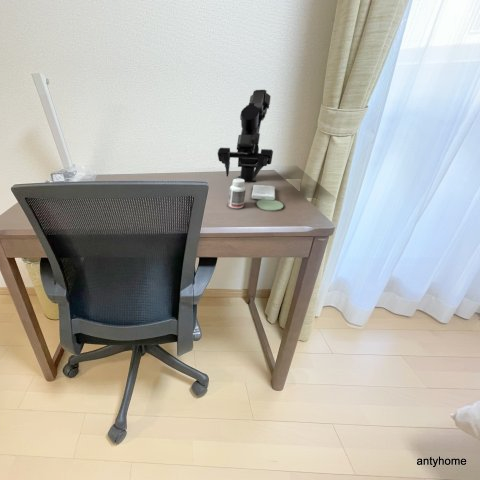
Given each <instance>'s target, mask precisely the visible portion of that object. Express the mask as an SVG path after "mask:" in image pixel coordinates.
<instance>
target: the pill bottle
mask: <svg viewBox="0 0 480 480" xmlns="http://www.w3.org/2000/svg"><path fill="white" fill-rule="evenodd" d="M245 183H246V182H245V180H244V179H239V178H238V177H237V178H233V179H232V184H231V186H229V195H228V196H229V197H228V207H229V208H232V209H242V208H243V207H244V206H245V205H244V204H245V197H246V189H247V188H246V186H245Z"/></svg>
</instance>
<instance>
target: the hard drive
mask: <svg viewBox="0 0 480 480" xmlns="http://www.w3.org/2000/svg"><path fill="white" fill-rule="evenodd" d="M251 199H253V200H276V188H275V186H274V185H264V184H263V185H262V184H254V185H253V186H252V193H251Z"/></svg>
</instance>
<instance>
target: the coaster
mask: <svg viewBox="0 0 480 480" xmlns="http://www.w3.org/2000/svg"><path fill="white" fill-rule="evenodd" d="M256 207H257V208H259V209H261V210H264V211H268V212H269V211H270V212H277V211H281V210H282V209H283V208H284V204H283V202H281V201H279V200H276V199H275V200H261V199H259V200H257V202H256Z"/></svg>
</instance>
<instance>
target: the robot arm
mask: <svg viewBox="0 0 480 480" xmlns="http://www.w3.org/2000/svg"><path fill="white" fill-rule="evenodd" d="M271 98H272V97H271V95H270V94H269V93H268V92H267V89H255V90H253V93H252V94H251V95H250V97H249V103H248V104H247V105H245V107H244V108H242V110H241V111H240V115H239V118H240V126H241V132H240V134H238V137H237V142H236V151H231V148H230V147H219V148H218V149H217V159H218V161H219V162H221V164H223V165H224V167H225V174H226V178H229V174H230V165H231V161H230V160H231V158H232V159H233V158H234V159H237V168H240V175H238V177H237V179H238V178H239V179H244V180H245V183H251V182H252V183H253V182H254V183H255V182H256V179H255V178H257V176H258V174H259V173H260V171H261V170H262V169H263V168H264V167H267V166H268V165H271V164H272V160H273V154H274V150H273V149H270V148H269V149H268V148H267V149H266V148H261V149H260V146H259V142H260V137H261V133H260V129H261V124H262V121H264V119H266V115H267V114H268V113H267V112H268V109H270V106H271V105H270V104H271ZM269 105H270V106H269Z"/></svg>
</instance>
